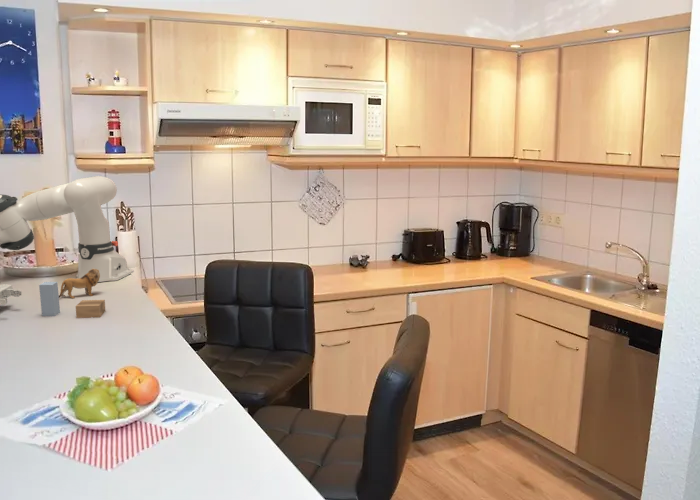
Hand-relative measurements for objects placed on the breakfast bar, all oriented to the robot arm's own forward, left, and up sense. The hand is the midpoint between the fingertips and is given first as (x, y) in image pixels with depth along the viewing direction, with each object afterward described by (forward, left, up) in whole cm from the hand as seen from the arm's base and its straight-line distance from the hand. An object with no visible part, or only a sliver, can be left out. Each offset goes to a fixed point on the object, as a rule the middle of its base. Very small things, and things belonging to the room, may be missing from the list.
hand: (13, 297), depth 205 cm
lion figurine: (-25, +4, -6) cm, 26 cm away
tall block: (-4, +11, -5) cm, 12 cm away
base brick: (-8, +23, -6) cm, 24 cm away
